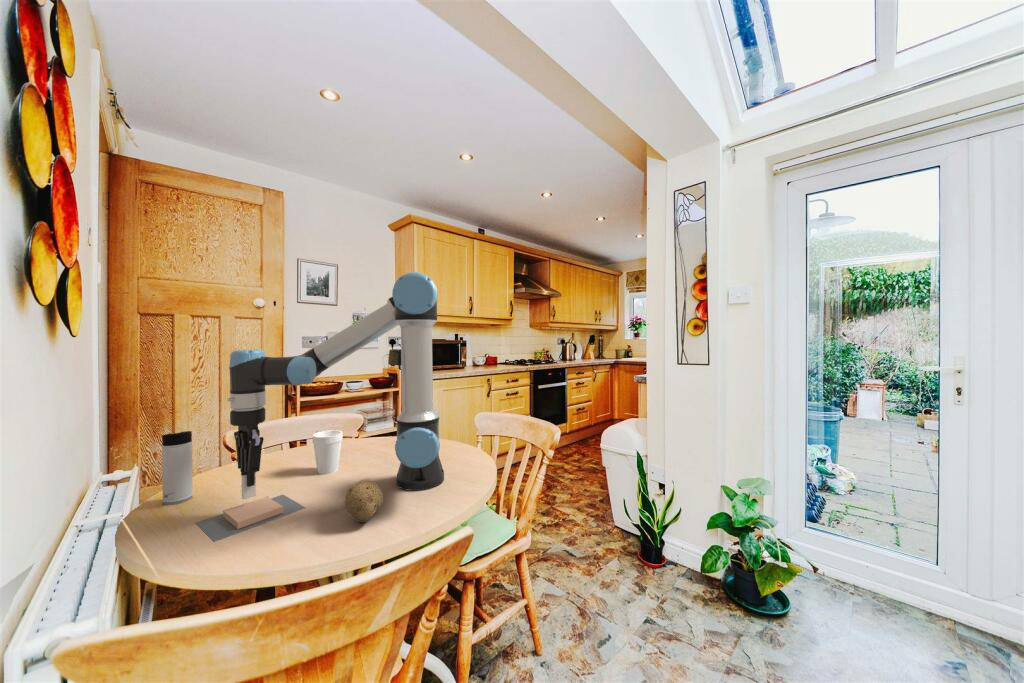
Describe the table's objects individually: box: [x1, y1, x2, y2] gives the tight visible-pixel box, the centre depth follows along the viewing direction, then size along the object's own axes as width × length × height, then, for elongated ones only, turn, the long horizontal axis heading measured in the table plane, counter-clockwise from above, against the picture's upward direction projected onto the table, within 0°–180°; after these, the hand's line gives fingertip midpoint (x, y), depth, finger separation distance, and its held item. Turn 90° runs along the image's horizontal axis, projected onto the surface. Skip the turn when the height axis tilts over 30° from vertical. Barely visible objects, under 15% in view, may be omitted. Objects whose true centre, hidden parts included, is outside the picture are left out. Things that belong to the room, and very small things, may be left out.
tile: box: [222, 496, 283, 529], centre depth 94 cm, size 2×10×10 cm
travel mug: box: [161, 430, 194, 507], centre depth 102 cm, size 6×7×20 cm
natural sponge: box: [344, 480, 384, 523], centre depth 93 cm, size 9×9×10 cm
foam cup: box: [312, 429, 344, 475], centre depth 126 cm, size 10×9×13 cm
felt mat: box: [194, 494, 306, 543], centre depth 94 cm, size 14×20×1 cm
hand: (248, 497), depth 96 cm, fingers closed
